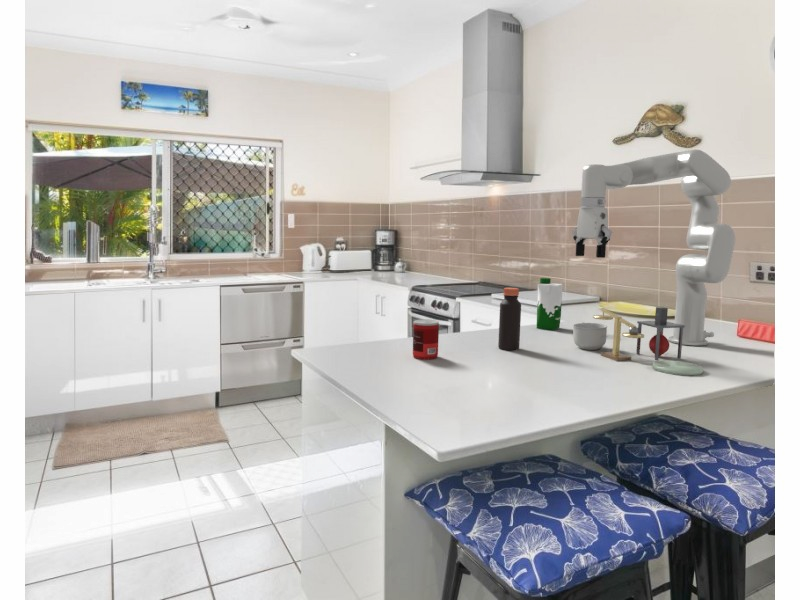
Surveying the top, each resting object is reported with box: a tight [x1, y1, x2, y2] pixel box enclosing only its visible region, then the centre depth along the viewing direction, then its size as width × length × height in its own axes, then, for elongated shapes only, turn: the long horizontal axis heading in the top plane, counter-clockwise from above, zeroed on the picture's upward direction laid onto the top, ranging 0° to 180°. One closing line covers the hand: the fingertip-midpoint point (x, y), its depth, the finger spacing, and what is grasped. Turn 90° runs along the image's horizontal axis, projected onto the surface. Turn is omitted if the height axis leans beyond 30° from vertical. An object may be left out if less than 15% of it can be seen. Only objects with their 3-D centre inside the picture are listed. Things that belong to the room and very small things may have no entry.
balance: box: [592, 307, 645, 362], centre depth 175 cm, size 21×6×15 cm, turn 16°
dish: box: [652, 359, 704, 376], centre depth 162 cm, size 13×13×1 cm
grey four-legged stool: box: [636, 306, 685, 361], centre depth 178 cm, size 10×10×16 cm
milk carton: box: [536, 277, 563, 331], centre depth 226 cm, size 9×9×20 cm
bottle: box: [497, 287, 522, 352], centre depth 185 cm, size 7×7×20 cm
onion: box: [648, 331, 670, 357], centre depth 178 cm, size 6×6×8 cm
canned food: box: [412, 318, 440, 360], centre depth 172 cm, size 8×8×11 cm
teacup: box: [572, 322, 608, 351], centre depth 191 cm, size 14×11×8 cm
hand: (589, 256), depth 185 cm, fingers open, 9 cm apart
